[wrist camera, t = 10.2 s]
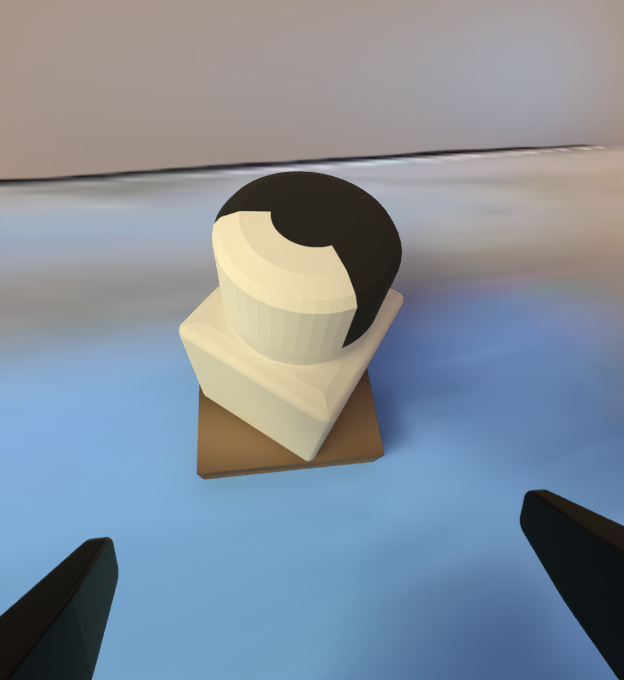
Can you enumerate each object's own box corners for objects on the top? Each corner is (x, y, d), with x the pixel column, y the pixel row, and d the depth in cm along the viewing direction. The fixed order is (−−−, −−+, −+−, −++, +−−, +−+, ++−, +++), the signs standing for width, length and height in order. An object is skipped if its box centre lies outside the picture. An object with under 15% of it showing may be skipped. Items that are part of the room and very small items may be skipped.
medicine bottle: (272, 308, 23) (278, 121, 13) (368, 363, 22) (458, 203, 12) (201, 394, 20) (132, 232, 10) (310, 465, 19) (364, 365, 8)
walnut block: (370, 463, 22) (384, 454, 20) (205, 480, 21) (196, 473, 18) (345, 325, 27) (353, 303, 24) (208, 331, 26) (201, 308, 23)
